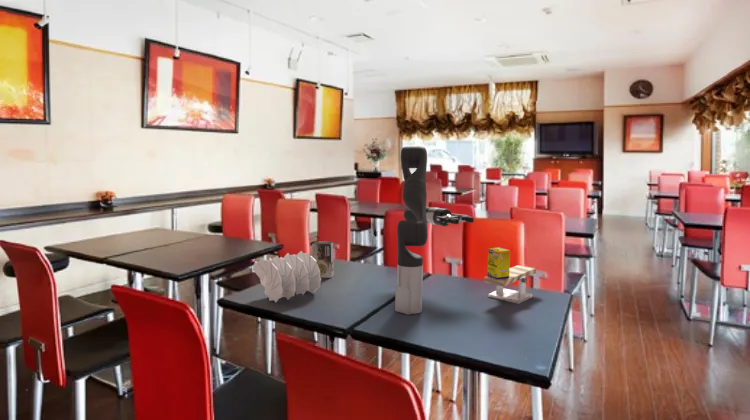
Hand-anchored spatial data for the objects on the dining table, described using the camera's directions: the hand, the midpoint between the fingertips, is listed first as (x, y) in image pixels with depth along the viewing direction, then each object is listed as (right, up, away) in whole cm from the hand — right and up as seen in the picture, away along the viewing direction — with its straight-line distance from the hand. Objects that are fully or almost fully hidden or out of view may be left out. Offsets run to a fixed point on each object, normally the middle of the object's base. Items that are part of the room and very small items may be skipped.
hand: (465, 220), depth 191 cm
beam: (+17, -23, -4) cm, 29 cm away
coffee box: (-61, -27, +28) cm, 73 cm away
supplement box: (+10, -22, -11) cm, 26 cm away
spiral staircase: (-71, -31, -4) cm, 77 cm away
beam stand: (+17, -31, -3) cm, 35 cm away
